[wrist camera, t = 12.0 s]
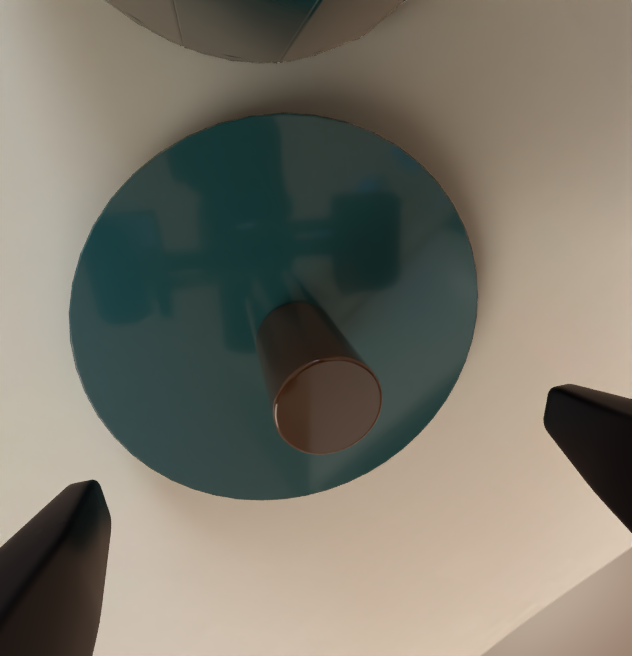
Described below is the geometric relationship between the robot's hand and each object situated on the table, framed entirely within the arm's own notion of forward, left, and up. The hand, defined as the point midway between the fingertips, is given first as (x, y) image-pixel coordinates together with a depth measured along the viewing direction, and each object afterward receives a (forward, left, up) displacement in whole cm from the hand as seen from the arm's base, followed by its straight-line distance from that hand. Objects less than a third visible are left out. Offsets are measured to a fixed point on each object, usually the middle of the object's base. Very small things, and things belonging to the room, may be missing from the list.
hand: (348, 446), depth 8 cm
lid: (0, 0, -6) cm, 6 cm away
